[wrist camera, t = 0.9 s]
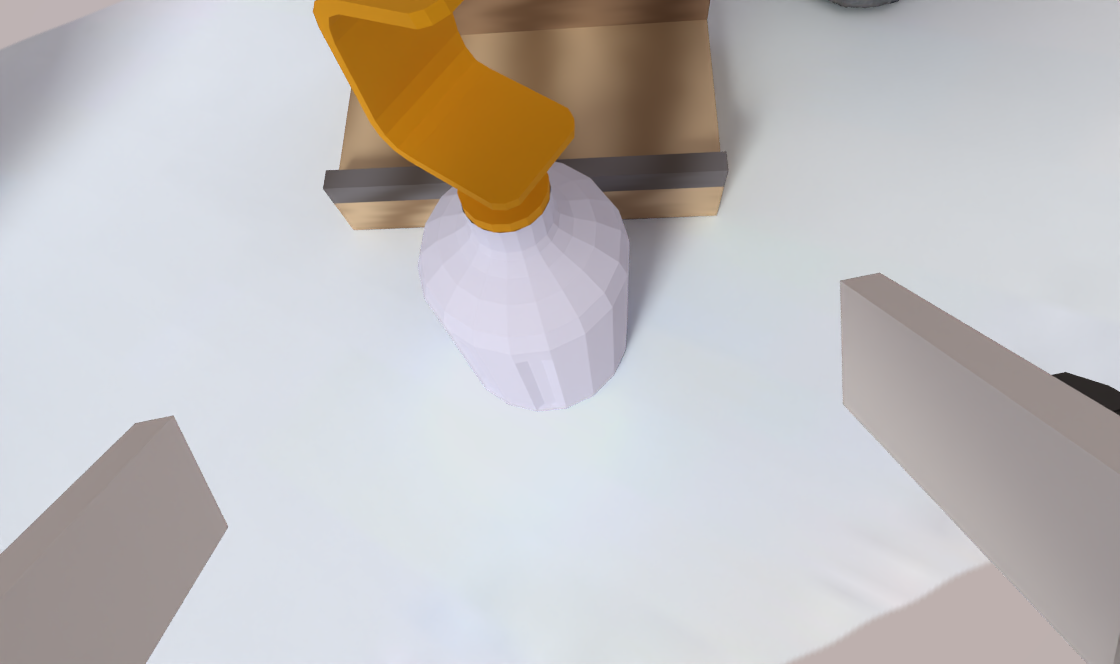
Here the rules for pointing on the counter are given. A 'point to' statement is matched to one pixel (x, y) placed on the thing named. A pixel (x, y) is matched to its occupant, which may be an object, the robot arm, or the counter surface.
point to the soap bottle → (493, 204)
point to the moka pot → (862, 3)
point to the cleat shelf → (573, 108)
